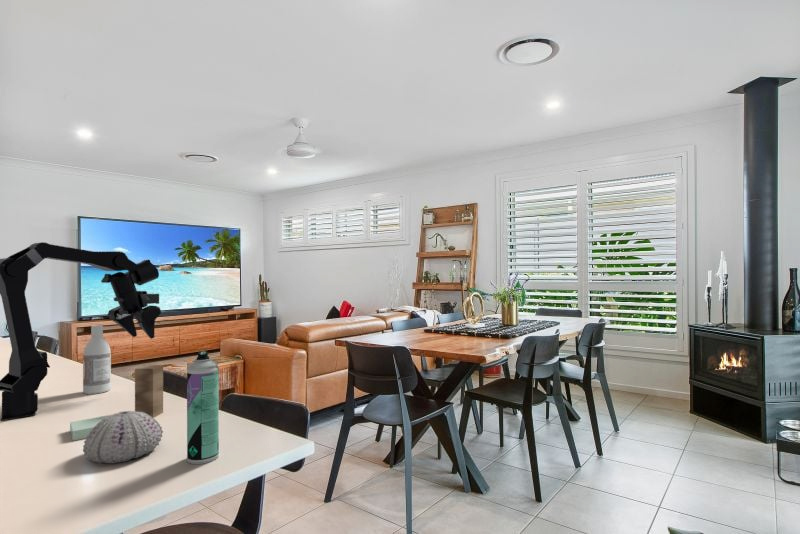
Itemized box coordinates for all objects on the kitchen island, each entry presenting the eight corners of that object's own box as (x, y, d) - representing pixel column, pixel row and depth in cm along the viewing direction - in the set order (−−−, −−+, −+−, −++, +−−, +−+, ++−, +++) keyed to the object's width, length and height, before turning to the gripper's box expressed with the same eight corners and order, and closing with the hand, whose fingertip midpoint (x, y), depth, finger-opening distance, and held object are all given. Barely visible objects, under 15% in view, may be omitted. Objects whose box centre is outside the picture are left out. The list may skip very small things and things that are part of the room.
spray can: (209, 450, 89) (209, 348, 89) (224, 457, 85) (223, 351, 86) (181, 459, 84) (181, 352, 85) (195, 466, 81) (195, 355, 81)
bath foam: (84, 390, 137) (85, 325, 138) (111, 387, 140) (111, 323, 141) (81, 395, 131) (81, 327, 131) (109, 392, 134) (109, 325, 135)
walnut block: (134, 418, 110) (134, 368, 110) (145, 412, 114) (145, 365, 114) (153, 418, 110) (153, 368, 110) (163, 412, 114) (163, 365, 114)
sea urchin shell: (177, 444, 92) (177, 405, 93) (120, 472, 79) (120, 426, 80) (126, 438, 96) (126, 401, 96) (63, 464, 83) (63, 420, 83)
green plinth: (73, 440, 95) (73, 431, 95) (70, 430, 101) (70, 421, 101) (117, 431, 100) (117, 422, 100) (112, 423, 106) (112, 414, 106)
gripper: (168, 281, 138) (184, 326, 143) (132, 281, 147) (149, 324, 152) (134, 295, 129) (152, 344, 134) (98, 295, 138) (117, 340, 143)
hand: (143, 337), depth 141 cm, fingers open, 9 cm apart
